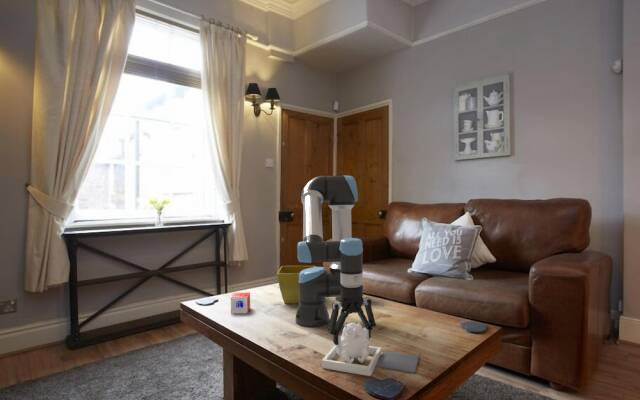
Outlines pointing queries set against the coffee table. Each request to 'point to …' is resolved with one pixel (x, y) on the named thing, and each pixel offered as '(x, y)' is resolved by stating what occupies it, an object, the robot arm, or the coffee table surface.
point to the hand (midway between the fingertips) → (352, 350)
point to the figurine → (354, 343)
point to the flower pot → (290, 282)
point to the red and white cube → (240, 303)
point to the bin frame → (350, 367)
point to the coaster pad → (398, 362)
